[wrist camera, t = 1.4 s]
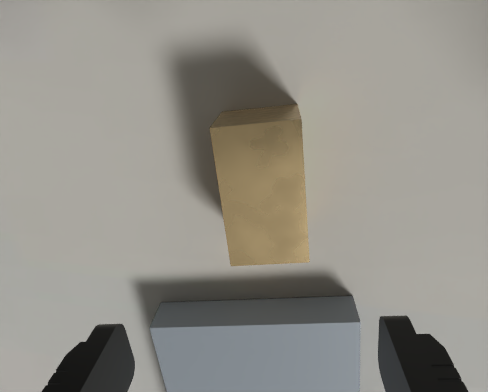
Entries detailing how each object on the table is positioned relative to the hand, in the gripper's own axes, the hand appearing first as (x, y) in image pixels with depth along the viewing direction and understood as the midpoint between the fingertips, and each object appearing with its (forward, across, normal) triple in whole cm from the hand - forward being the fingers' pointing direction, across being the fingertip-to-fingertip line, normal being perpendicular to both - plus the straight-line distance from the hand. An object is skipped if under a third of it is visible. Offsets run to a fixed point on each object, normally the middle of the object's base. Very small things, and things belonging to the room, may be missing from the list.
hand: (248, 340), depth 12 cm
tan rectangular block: (+16, 0, 0) cm, 16 cm away
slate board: (+16, +2, +19) cm, 25 cm away
